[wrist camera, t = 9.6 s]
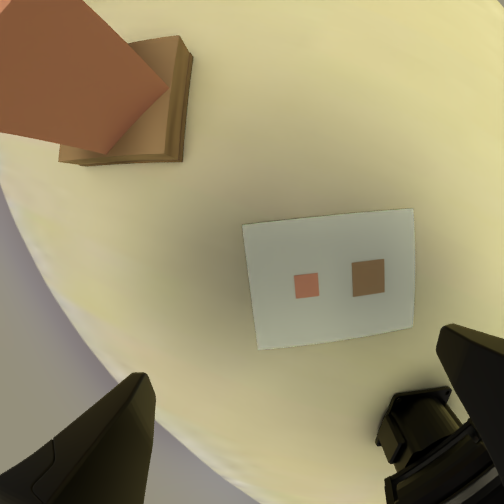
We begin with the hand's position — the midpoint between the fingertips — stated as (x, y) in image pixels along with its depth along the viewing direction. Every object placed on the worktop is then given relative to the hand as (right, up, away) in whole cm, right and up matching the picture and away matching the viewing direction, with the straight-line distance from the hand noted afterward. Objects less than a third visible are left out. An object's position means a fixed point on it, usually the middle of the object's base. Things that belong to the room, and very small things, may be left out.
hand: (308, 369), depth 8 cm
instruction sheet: (+4, +1, +12) cm, 13 cm away
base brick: (-10, +14, +11) cm, 20 cm away
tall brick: (-10, +13, +7) cm, 18 cm away
